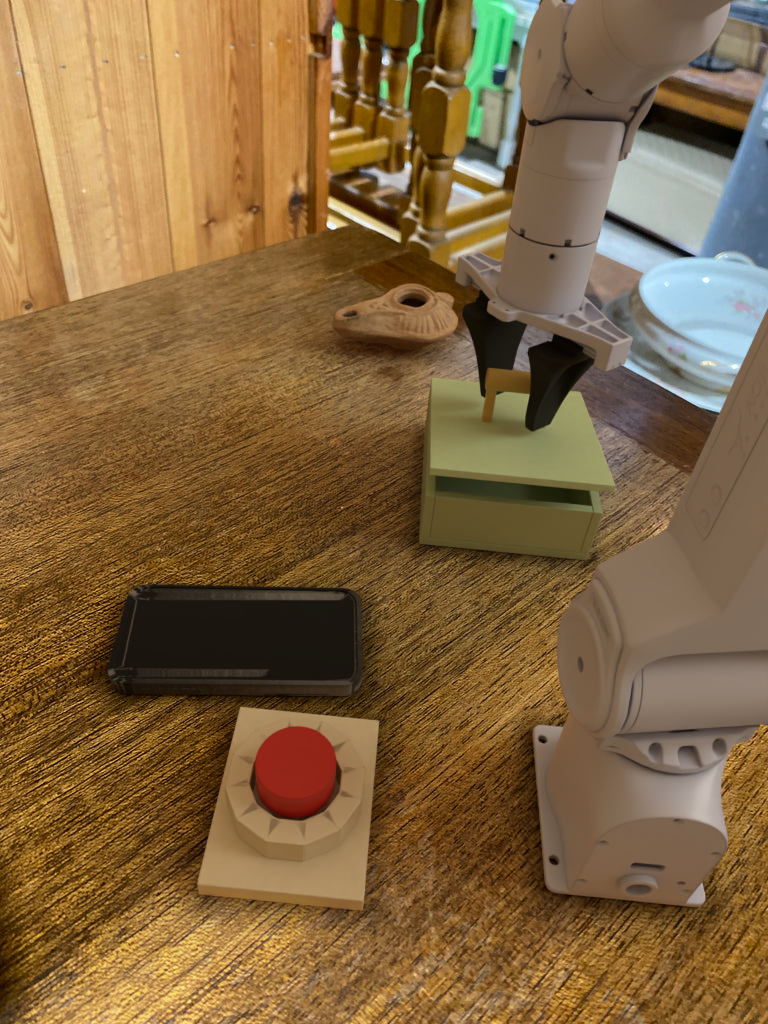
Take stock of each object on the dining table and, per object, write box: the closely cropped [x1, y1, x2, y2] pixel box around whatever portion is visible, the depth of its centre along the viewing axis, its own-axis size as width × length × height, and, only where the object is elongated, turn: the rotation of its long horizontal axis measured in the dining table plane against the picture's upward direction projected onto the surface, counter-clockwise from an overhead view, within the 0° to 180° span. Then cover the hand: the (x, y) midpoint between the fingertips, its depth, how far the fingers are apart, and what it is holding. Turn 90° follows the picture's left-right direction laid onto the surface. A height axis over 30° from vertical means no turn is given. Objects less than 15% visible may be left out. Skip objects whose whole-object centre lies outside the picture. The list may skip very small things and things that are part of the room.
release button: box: [255, 726, 336, 818], centre depth 39 cm, size 4×4×2 cm
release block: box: [196, 706, 380, 912], centre depth 41 cm, size 10×8×3 cm
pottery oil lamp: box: [330, 283, 459, 351], centre depth 77 cm, size 9×12×7 cm
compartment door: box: [429, 368, 617, 494], centre depth 57 cm, size 15×12×5 cm
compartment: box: [418, 384, 604, 561], centre depth 61 cm, size 14×12×5 cm
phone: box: [107, 583, 364, 697], centre depth 49 cm, size 8×1×15 cm
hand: (514, 408), depth 58 cm, fingers closed on compartment door, 4 cm apart
